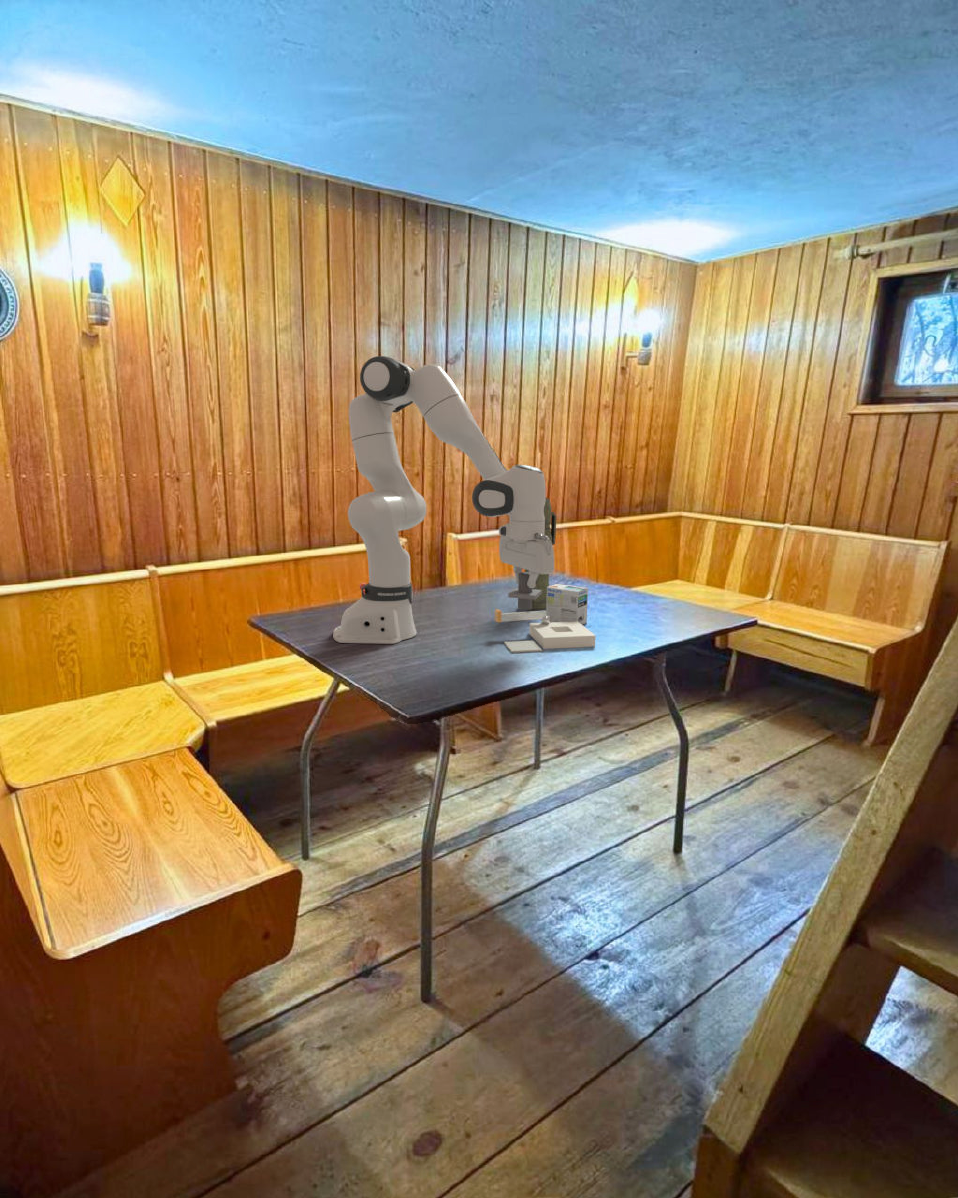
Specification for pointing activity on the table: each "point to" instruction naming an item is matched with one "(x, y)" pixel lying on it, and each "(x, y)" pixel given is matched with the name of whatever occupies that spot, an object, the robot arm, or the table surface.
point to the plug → (524, 592)
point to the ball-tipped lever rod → (522, 616)
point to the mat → (522, 646)
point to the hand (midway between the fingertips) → (525, 585)
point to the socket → (562, 635)
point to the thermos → (543, 579)
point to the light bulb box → (567, 603)
